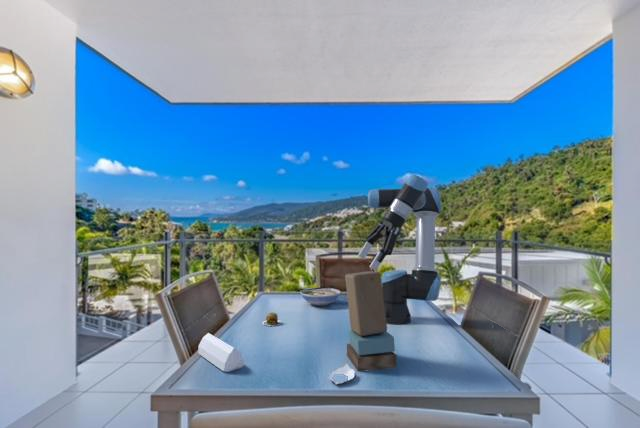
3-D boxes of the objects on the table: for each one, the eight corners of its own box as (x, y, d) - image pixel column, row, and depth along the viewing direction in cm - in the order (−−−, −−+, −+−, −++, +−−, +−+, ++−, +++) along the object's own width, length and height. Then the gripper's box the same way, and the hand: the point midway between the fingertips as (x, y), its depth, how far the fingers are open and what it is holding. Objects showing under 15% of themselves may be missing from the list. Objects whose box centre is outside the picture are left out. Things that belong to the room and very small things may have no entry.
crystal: (252, 355, 115) (219, 336, 133) (235, 348, 111) (203, 330, 129) (242, 378, 112) (210, 356, 130) (224, 372, 108) (193, 350, 126)
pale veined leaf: (359, 371, 110) (358, 363, 110) (348, 392, 99) (348, 383, 99) (335, 369, 113) (334, 361, 113) (322, 389, 102) (321, 380, 102)
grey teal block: (382, 340, 126) (381, 327, 126) (394, 351, 114) (393, 337, 114) (349, 344, 124) (349, 331, 124) (358, 355, 112) (358, 340, 112)
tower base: (381, 353, 127) (381, 341, 127) (396, 369, 114) (396, 355, 114) (346, 356, 124) (346, 343, 124) (357, 372, 111) (357, 358, 111)
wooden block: (388, 332, 117) (381, 271, 119) (360, 337, 114) (353, 274, 116) (376, 327, 126) (369, 271, 129) (350, 331, 124) (343, 274, 126)
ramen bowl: (309, 312, 182) (309, 296, 182) (291, 302, 202) (291, 288, 202) (350, 306, 193) (350, 291, 193) (330, 298, 214) (330, 284, 214)
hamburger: (270, 330, 154) (270, 318, 154) (253, 325, 161) (253, 313, 161) (290, 324, 163) (290, 312, 163) (273, 319, 170) (273, 308, 170)
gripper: (421, 226, 118) (387, 279, 118) (392, 213, 142) (363, 258, 143) (404, 214, 116) (369, 269, 117) (377, 204, 140) (349, 249, 141)
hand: (366, 263), depth 130 cm, fingers open, 13 cm apart
